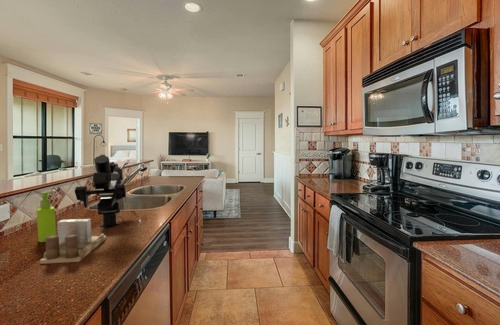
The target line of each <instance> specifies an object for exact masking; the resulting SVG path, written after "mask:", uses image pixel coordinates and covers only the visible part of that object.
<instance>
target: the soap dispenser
mask: <svg viewBox="0 0 500 325" xmlns="http://www.w3.org/2000/svg"><path fill="white" fill-rule="evenodd" d="M56 193H57V191H51V190H49V191H43V192H39V195H41V196H42V199H41V200H40V201H39V202H40V203H39V204H40V207H39V208H37V209H36V219H37V220H36V221H37V222H36V223H37V238H38V242H40V243H46V240H45V238H46V237H49V236H54V235H57V227H56V210H55V209H56V208H55V207H54V206H52V204H51V201H52V200H51V199H49V194H56Z"/></svg>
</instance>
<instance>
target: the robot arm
mask: <svg viewBox="0 0 500 325" xmlns="http://www.w3.org/2000/svg"><path fill="white" fill-rule="evenodd" d="M93 161H94V168H95V171H96V172H94V173H93V174H92V181H93V186H92V187H93V188H88V186H87V185H85V186H84V185H82V186H76V187H75V188H74V194H75V197H76V198H75V199H76V200H77V201H79V202H83V206H84V208H85V209H87V207H88V204H89V195H96V196H100V198H99V201H98V202H97V212H98V213H97V215H99V216H100V215H102V223H101V224H99V227H103V228H105V229H106V228H111V227H114V226H115V227H116V226H119V225H120V223H119V222H117V214H118V213H121V207H120V203H119V202H118V201H119V200H122V199H123V198H126V197H127V188H126V185H125V184H122V182H123V181H124V174H123V169H121V168H120V167H119V164H118V163H116V162H114V161H110V158H109V156H107V155H106V154H100V155H99V156H96V157H95V158H93Z"/></svg>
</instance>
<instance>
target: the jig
mask: <svg viewBox="0 0 500 325" xmlns="http://www.w3.org/2000/svg"><path fill="white" fill-rule="evenodd" d="M91 237H92V242H91V243H90V244H88V245H87V246H86V247H84V248H78V235H69V236H66V237H65V249H59V236H58V234H56V235H54V236H49V237H46V238H45V240H46V242H45V252H43V258H41V259H39V264H42V265H43V264H46V265H47V264H57V263H58V264H60V263H61V264H62V263H78V262H80V261H82V260H83V259H84V258H85V257H86V256H88V254H90V253H91V252H92V251H93V250H95V249H96V248H97V247H98V246H99V245H101V243H103V242H104V241H105V240H106V239H107V235H105V233H101V234H100V235H99V236H98V235H91Z"/></svg>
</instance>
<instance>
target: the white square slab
mask: <svg viewBox="0 0 500 325" xmlns="http://www.w3.org/2000/svg"><path fill="white" fill-rule="evenodd" d="M56 228H57V235H58V236H59V249H65V237H66V236H69V235H78V248H84V247H86V246H87V245H88V244H90V243H91V242H92V237H91V236H92V219H91V218H76V219H75V218H73V219H71V218H70V219H61V220H59V221H57V227H56Z"/></svg>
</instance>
